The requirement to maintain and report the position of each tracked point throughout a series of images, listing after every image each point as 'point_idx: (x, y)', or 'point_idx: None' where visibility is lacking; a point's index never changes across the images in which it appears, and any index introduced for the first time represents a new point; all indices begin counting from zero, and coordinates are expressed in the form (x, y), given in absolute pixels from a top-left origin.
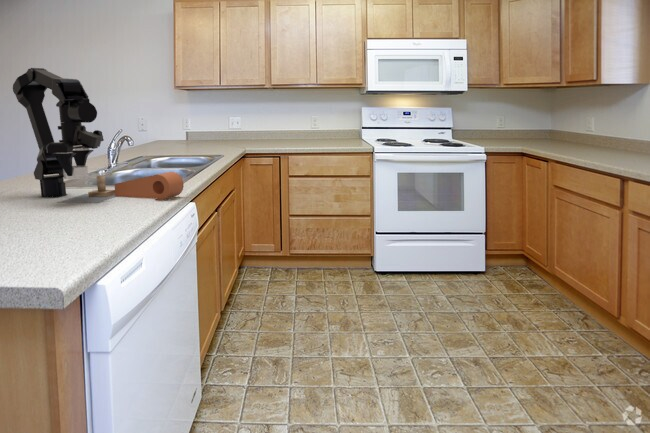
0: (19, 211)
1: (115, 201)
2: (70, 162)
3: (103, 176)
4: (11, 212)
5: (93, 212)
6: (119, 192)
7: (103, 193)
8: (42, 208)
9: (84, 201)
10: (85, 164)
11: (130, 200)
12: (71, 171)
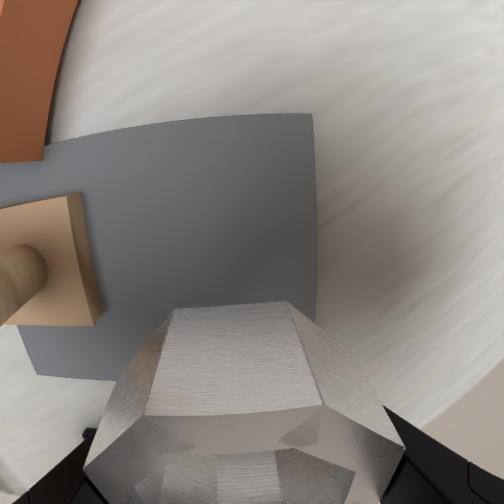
0: (451, 379)
1: (157, 79)
2: (490, 483)
3: None
4: (461, 386)
5: (481, 62)
6: (32, 122)
7: (72, 217)
8: (407, 352)
9: (265, 239)
10: (45, 475)
11: (115, 17)
12: (396, 426)
